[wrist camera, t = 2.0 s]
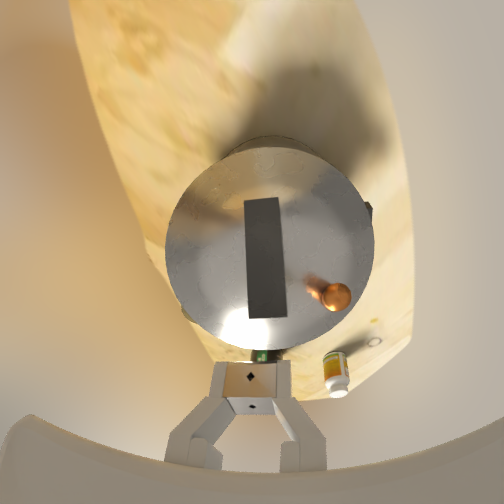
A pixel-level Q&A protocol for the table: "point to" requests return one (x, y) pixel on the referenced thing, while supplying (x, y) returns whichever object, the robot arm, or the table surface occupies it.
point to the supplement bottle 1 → (266, 355)
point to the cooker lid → (269, 248)
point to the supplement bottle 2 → (336, 374)
